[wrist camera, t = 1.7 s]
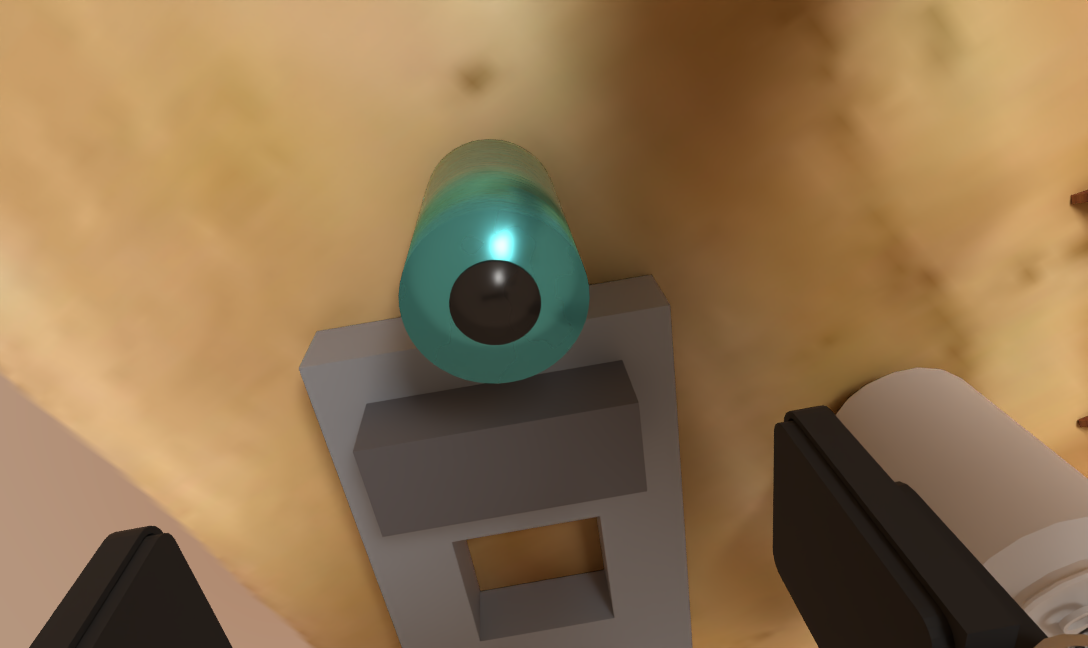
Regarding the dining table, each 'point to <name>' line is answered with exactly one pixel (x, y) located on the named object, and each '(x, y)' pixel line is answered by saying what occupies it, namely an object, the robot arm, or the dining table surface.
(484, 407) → the plate
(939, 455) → the can
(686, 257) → the dining table surface
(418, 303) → the teal translucent cylinder
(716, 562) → the dining table surface
